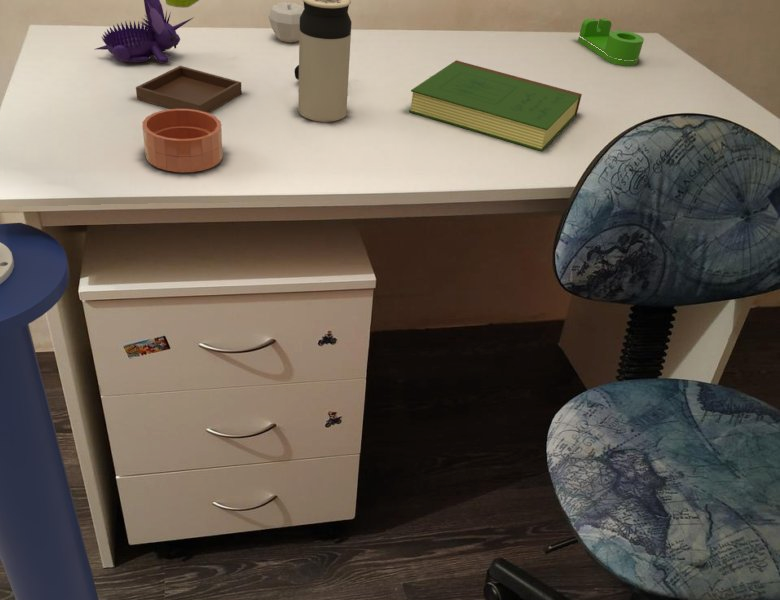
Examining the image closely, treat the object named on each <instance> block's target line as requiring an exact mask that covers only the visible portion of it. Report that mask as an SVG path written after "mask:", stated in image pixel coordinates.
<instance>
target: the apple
mask: <svg viewBox="0 0 780 600" xmlns="http://www.w3.org/2000/svg"><path fill="white" fill-rule="evenodd" d="M303 10H304V5H301V4H299V3H293V2H280V3H279V2H278V3H275V4H274V5H273V6H272V7H271V8H270V11H269V15H268V19H269V23H270V26H271V30H272V31H273V33H274V35H275V36H276V37H277V39H278V40H280V41H281V42H285V43H290V44H291V43H296V42H299V29H300V16H301V14H302V12H303Z"/></svg>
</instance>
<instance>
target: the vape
mask: <svg viewBox="0 0 780 600" xmlns="http://www.w3.org/2000/svg"><path fill="white" fill-rule="evenodd" d="M198 2H200V0H165V4H166V5H167V6H169V7H173V8H180V9H181V8H184V9H185V8H190V7H192V6H193V5H195V4H196V3H198Z"/></svg>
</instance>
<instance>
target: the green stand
mask: <svg viewBox="0 0 780 600" xmlns="http://www.w3.org/2000/svg"><path fill="white" fill-rule="evenodd" d="M611 28H612V22H611V20H609V19H607V18H605V17H603V18H601V17H600V18H599V19H596V18H585V19H584V20H583V21H582V23H581V27H580V31H579V35H580V36H581V37H583V38H584V39H586V40H587V41H589V42H590V43H592V44H593V45H595V46H596V47H598V48H599V49H601V50H602V51H604V52H605V53H606V54H607V55H608V56H607V55H606V54H605V53H604V52H602V51H601V50H599V49H598V48H596V47H595V46H593V45H591V44H590V43H588V42H587V41H585V40H583V39H582V38H580V37H579V36H578V39H577V42H578V43H579V44H581V45H583V47H586V48H587V49H589V50H590V51H592V52H594V53H595V54H597V55H598V56H600V57H601V58H603V59H604V60H605V61H606V62H608V63H610V64H614V65H618V66H624V67H625V66H626V67H630V66H631V67H632V66H635V65H637V64H638V61H639V58H640V54H641V52H642V47H643V44H644V41H645V39H644V36H641V35H640V34H638V33H634V32H632V31H627V30H613V31H611ZM609 56H611V57H613V58H611V57H609ZM614 58H617V59H614ZM618 59H622V60H618ZM635 59H637V60H635ZM624 60H634V61H624Z"/></svg>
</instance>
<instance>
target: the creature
mask: <svg viewBox="0 0 780 600" xmlns="http://www.w3.org/2000/svg"><path fill="white" fill-rule="evenodd" d="M143 4H144V11H145V13H144V15H143V16H144V17H145V18H141V20H142V21H141V22H140V20H138V21H137V24H136V21H135V20H133V25H132V22H131V21H129V25H128V23H127V20H125V21H124V24H125V25H124V24H123V22H122V21H120V25H121V27H120V25H119V23H116V26H115V25H114V24H112V28H111V26H109V29H108V28H106V30H105V31H104V33H103V34H102V36H101V37H100V38H101V40H102V42H103V43H104V44H105V45H101V46H100V47H96V48H95V50H101V51H103V50H106V51H108V52H109V53H110V55H112V56H113V57H114V58H115V60H117V61H118V62H127V63H128V62H129V63H141V62H146V61H149V60H150V59H152V57H154V58H155V60H156V61H157V62H158V63H161V64H165V63H168V62H169V61H171V60H172V59H174V58H175V57H173V56H172V57H171V58H170V55H167V54H164V53H163V52H166V51H167V50H170V49H172V48H174V49H177V46H178V45H179V43H180V41H181V37H180V36H179V34H178V33H177V30H178V29H179V28H181V27H182V26H184V25H185V24H187V23H189V22H190V21H191V20H193V19H194V18H195V16H193V17H191V18H188V19H187V20H184V21H182V22H180V23H178V24H175V25H172V24H171V23H169V22H170V18H171V13H172V11H170V12H169V14H168V10H166V12H165V13H164V8H163V5H162V3H161V1H160V0H143ZM116 27H117V28H116Z"/></svg>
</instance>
